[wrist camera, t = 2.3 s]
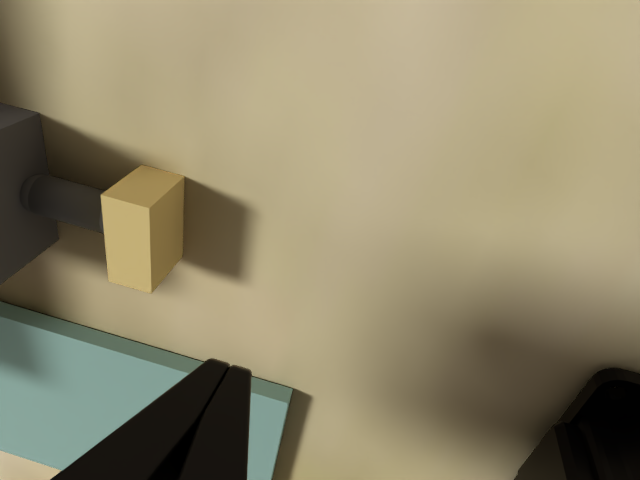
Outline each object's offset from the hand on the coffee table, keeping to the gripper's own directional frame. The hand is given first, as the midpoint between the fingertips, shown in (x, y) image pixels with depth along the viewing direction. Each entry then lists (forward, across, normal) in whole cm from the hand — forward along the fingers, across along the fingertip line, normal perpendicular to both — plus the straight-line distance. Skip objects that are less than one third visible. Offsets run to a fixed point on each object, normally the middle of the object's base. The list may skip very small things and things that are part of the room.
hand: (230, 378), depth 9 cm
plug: (+4, +8, 0) cm, 9 cm away
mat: (+4, +6, +10) cm, 13 cm away
